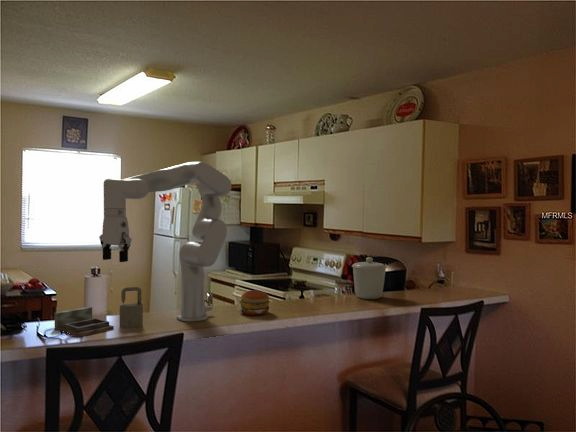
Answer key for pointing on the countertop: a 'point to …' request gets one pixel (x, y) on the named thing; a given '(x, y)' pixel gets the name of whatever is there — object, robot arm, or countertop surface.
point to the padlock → (131, 310)
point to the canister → (369, 279)
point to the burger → (254, 303)
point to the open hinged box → (80, 322)
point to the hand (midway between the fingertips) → (115, 260)
